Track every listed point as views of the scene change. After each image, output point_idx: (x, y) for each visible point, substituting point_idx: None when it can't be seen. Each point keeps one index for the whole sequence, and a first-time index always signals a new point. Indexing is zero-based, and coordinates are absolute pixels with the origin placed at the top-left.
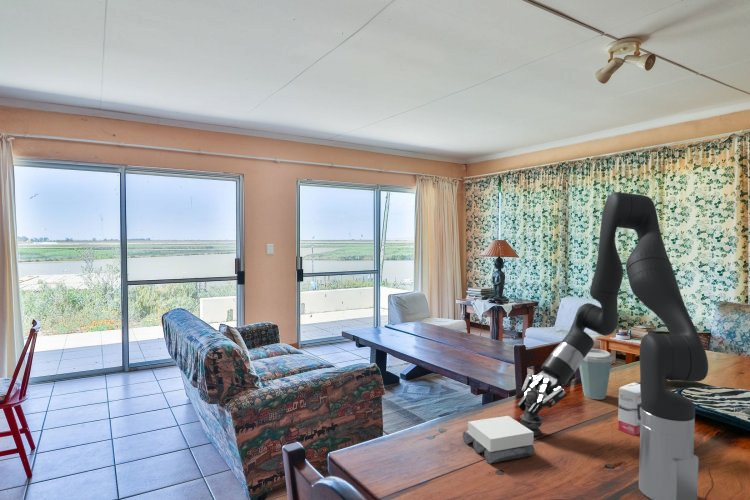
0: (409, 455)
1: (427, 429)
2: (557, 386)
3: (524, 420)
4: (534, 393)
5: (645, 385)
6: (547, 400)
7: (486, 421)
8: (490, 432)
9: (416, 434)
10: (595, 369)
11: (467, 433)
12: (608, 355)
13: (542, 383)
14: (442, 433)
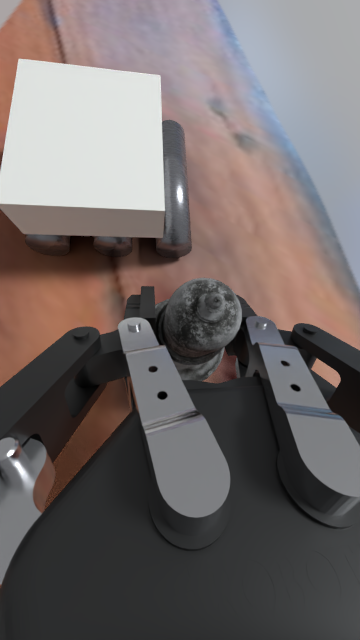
0: (153, 42)
1: (255, 118)
2: (21, 541)
3: (168, 299)
4: (173, 308)
5: None
6: (56, 341)
7: (142, 119)
8: (62, 84)
9: (236, 90)
10: None
11: (162, 122)
12: None
13: (241, 436)
14: (229, 134)
